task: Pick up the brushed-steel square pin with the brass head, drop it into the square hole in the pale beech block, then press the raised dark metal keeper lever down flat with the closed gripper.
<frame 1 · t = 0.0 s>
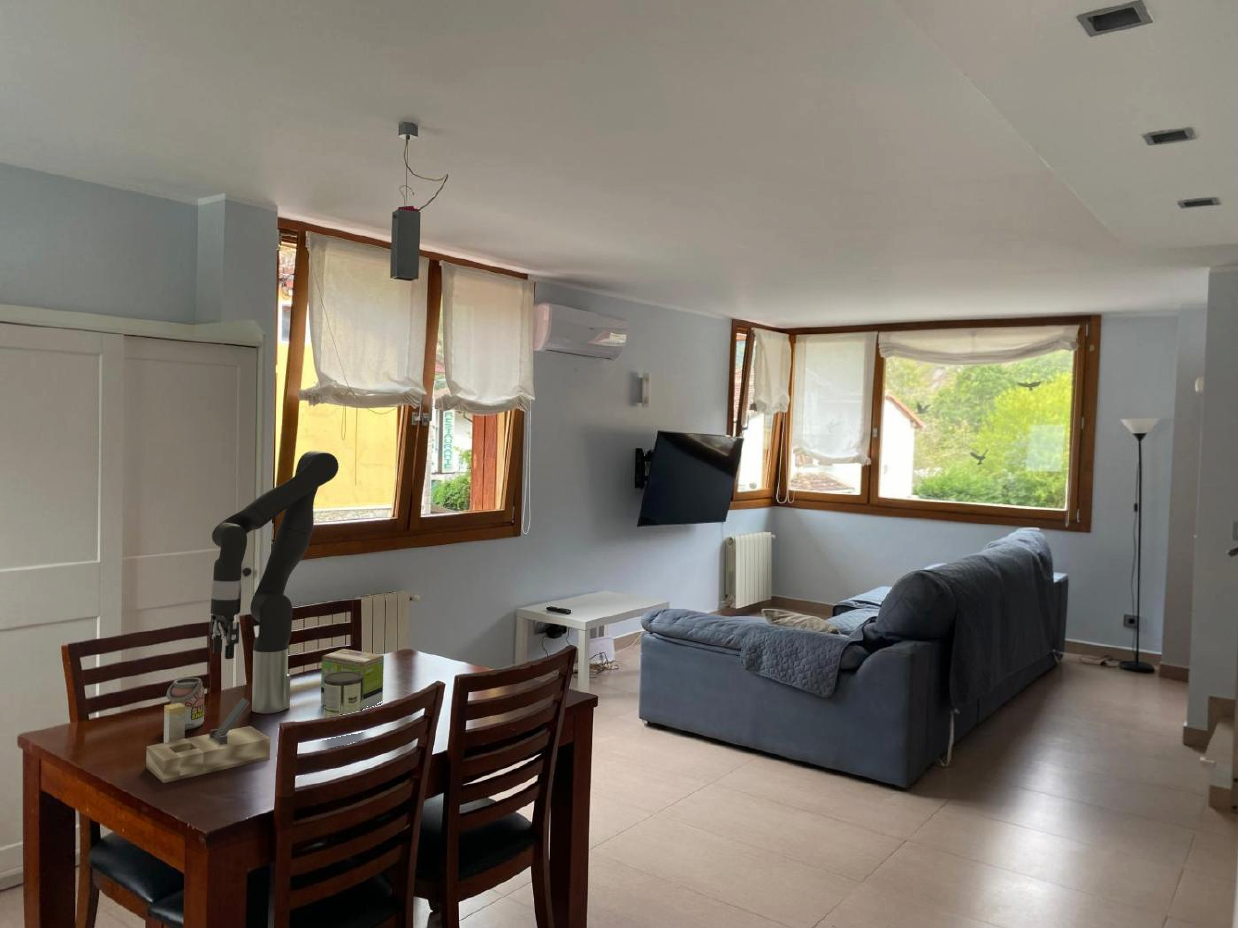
hand: (223, 655, 247), 17 cm above the table, tool pointing down, fingers open, 8 cm apart
beverage can: (185, 726, 240), on the table
block: (209, 763, 214), on the table
pin: (174, 753, 220), on the table
lever: (231, 719, 217), point 9 cm above the table, hinge at 50.0°
tea box: (351, 705, 263), on the table
coffee can: (342, 729, 242), on the table
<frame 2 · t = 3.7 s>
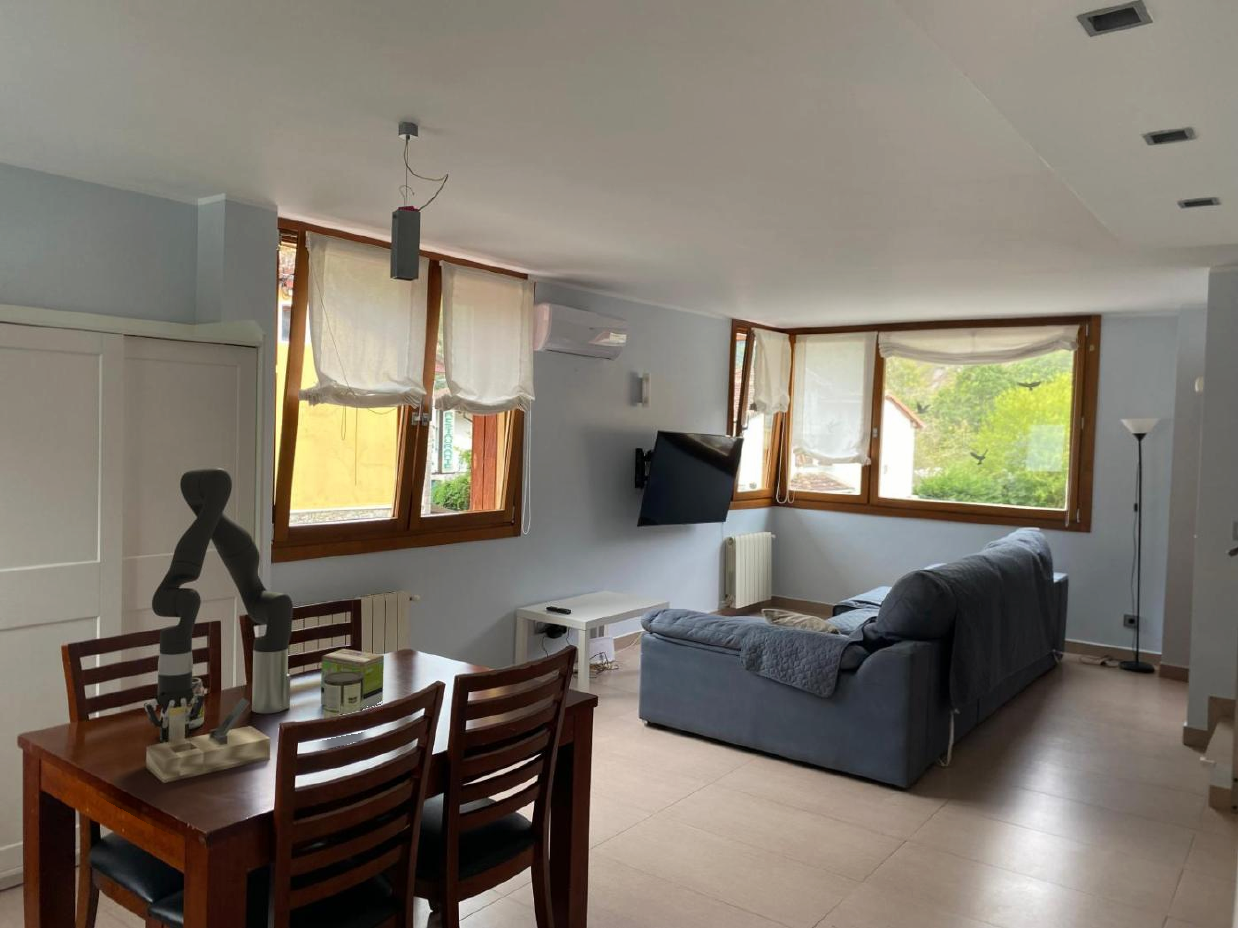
hand: (174, 739, 220), 3 cm above the table, tool pointing down, fingers closed on pin, 3 cm apart
pin: (174, 752, 220), on the table, touching gripper
everything else where it was.
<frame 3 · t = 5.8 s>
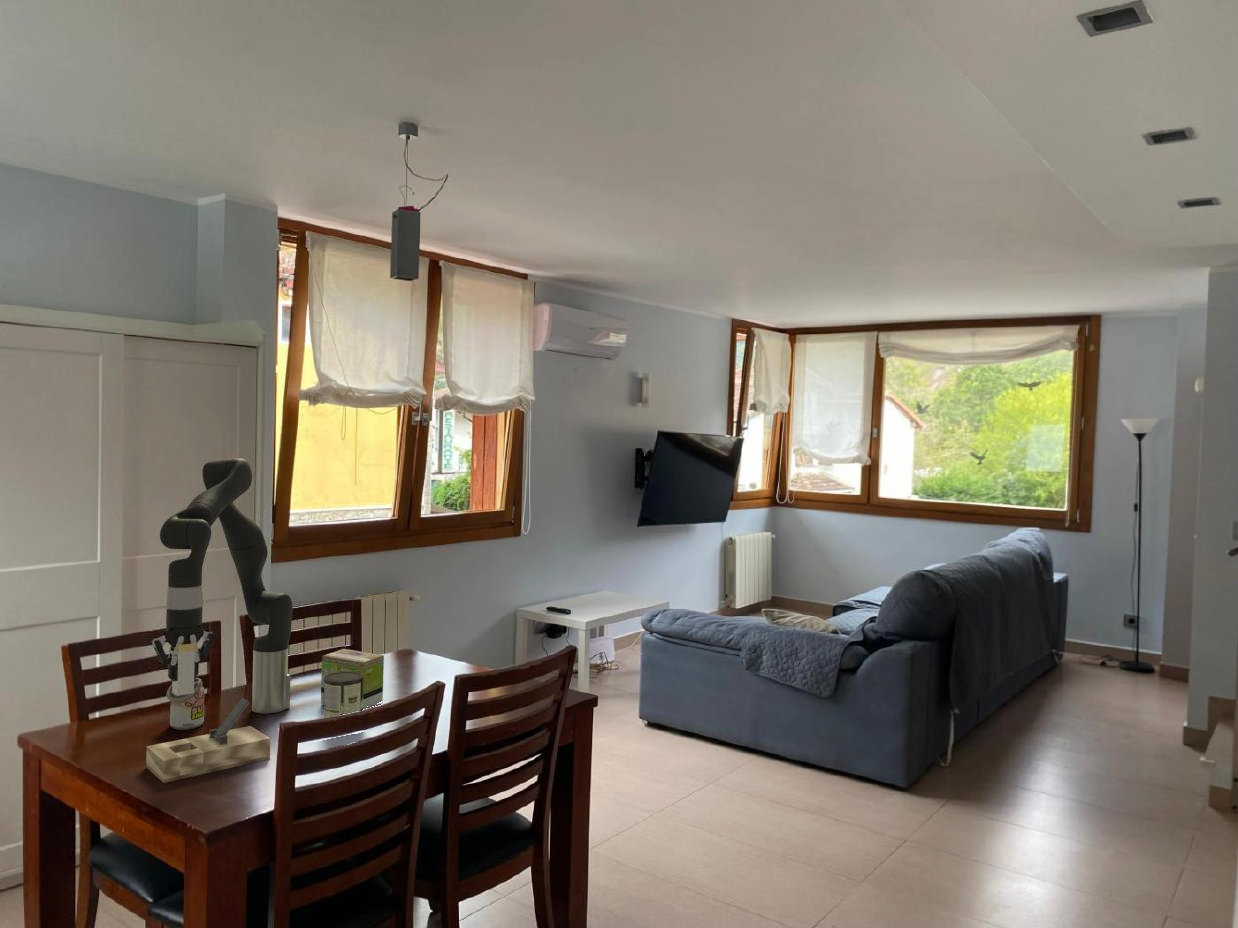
hand: (183, 678, 209), 21 cm above the table, tool pointing down, fingers closed on pin, 3 cm apart
pin: (183, 692, 209), point 18 cm above the table, touching gripper
everything else where it was.
when the fingers open (5 cm above the table, at t = 8.1 s): pin drops 1 cm, resting on block.
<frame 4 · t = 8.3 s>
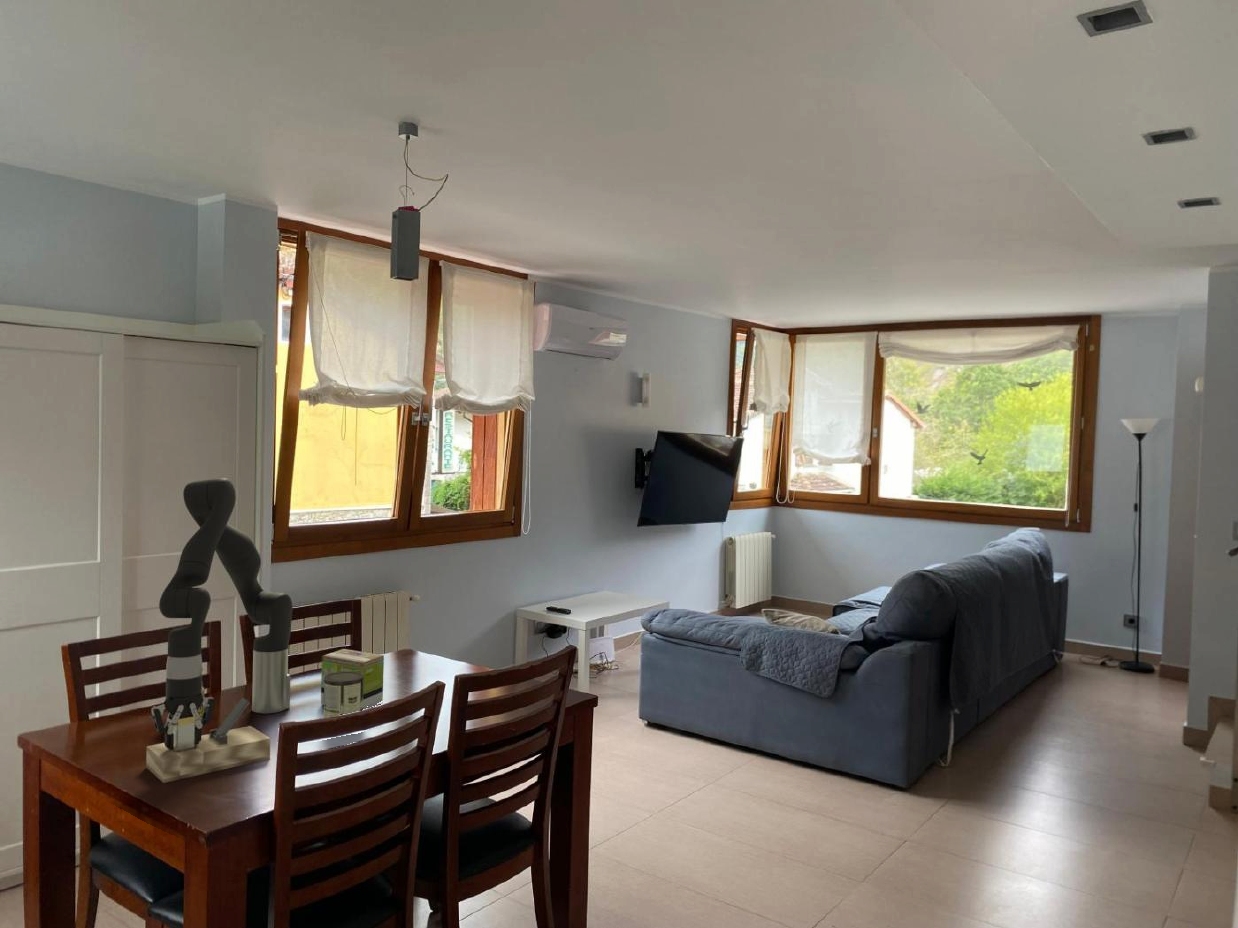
hand: (182, 745, 210), 5 cm above the table, tool pointing down, fingers open, 5 cm apart
pin: (182, 765, 210), point 1 cm above the table, touching block
everything else where it was.
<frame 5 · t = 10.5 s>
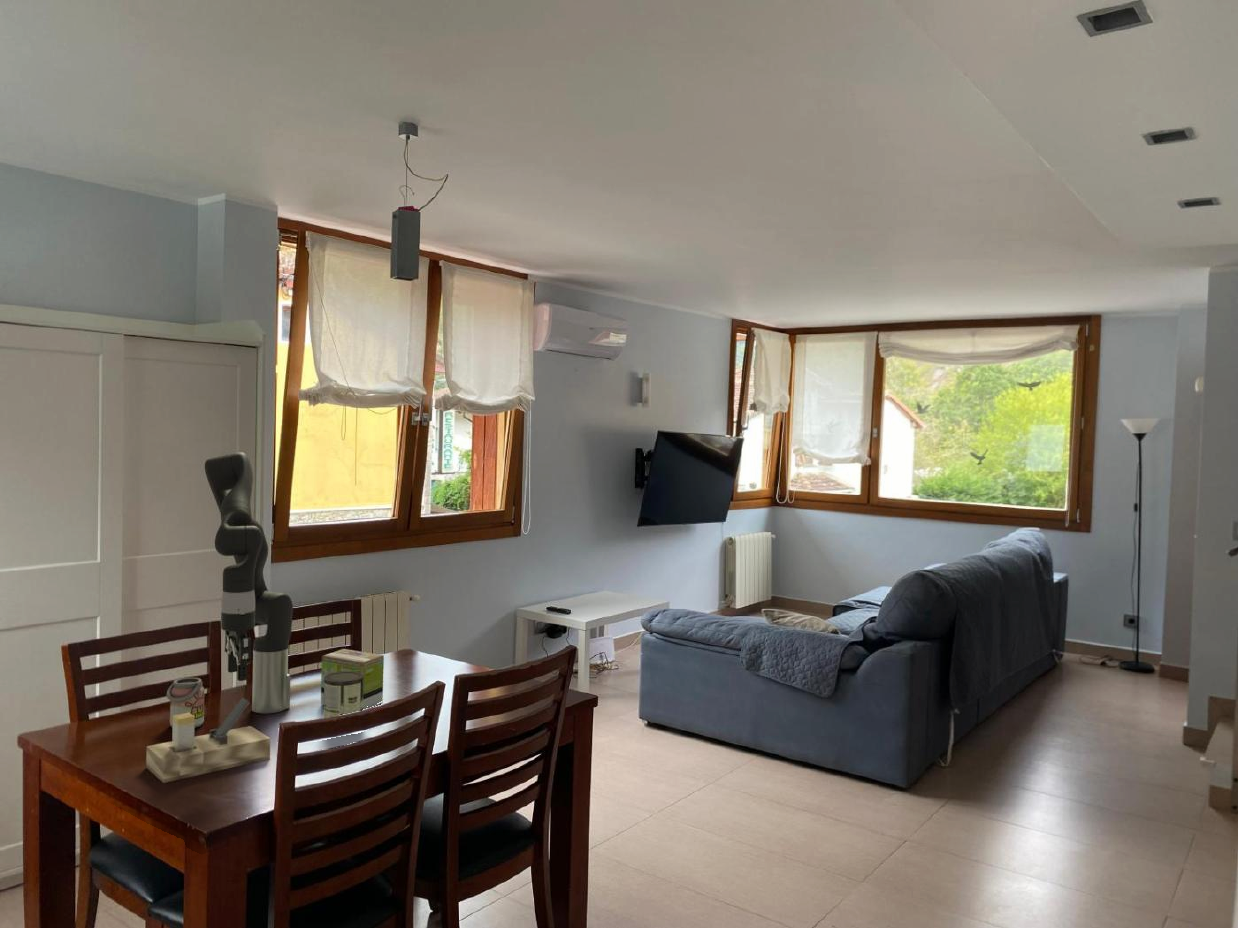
hand: (237, 675, 218), 20 cm above the table, tool pointing down, fingers open, 8 cm apart
nothing on the table moved.
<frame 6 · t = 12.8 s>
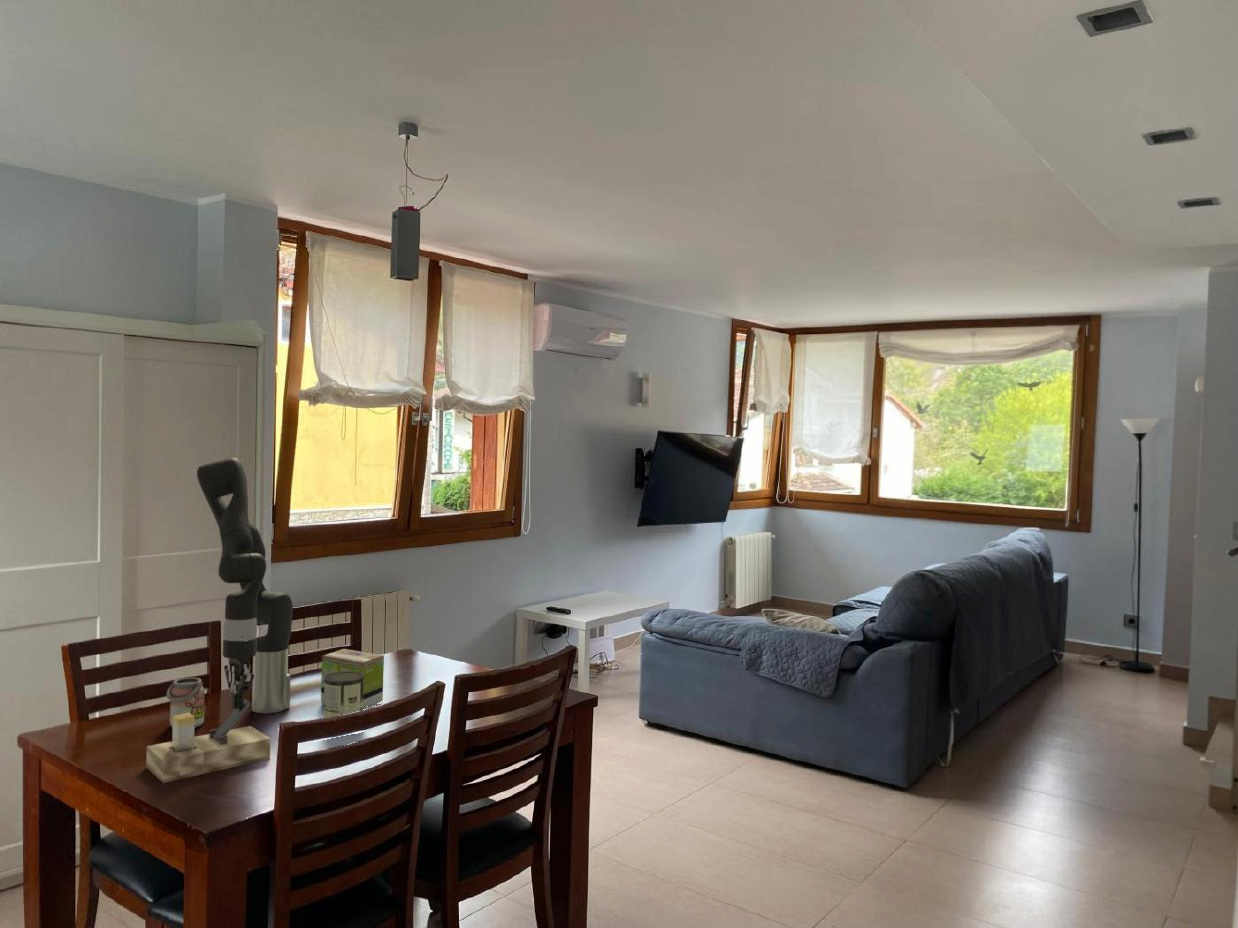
hand: (237, 707, 218), 12 cm above the table, tool pointing down, fingers closed
lever: (232, 719, 217), point 9 cm above the table, hinge at 47.0°, touching gripper
everything else where it was.
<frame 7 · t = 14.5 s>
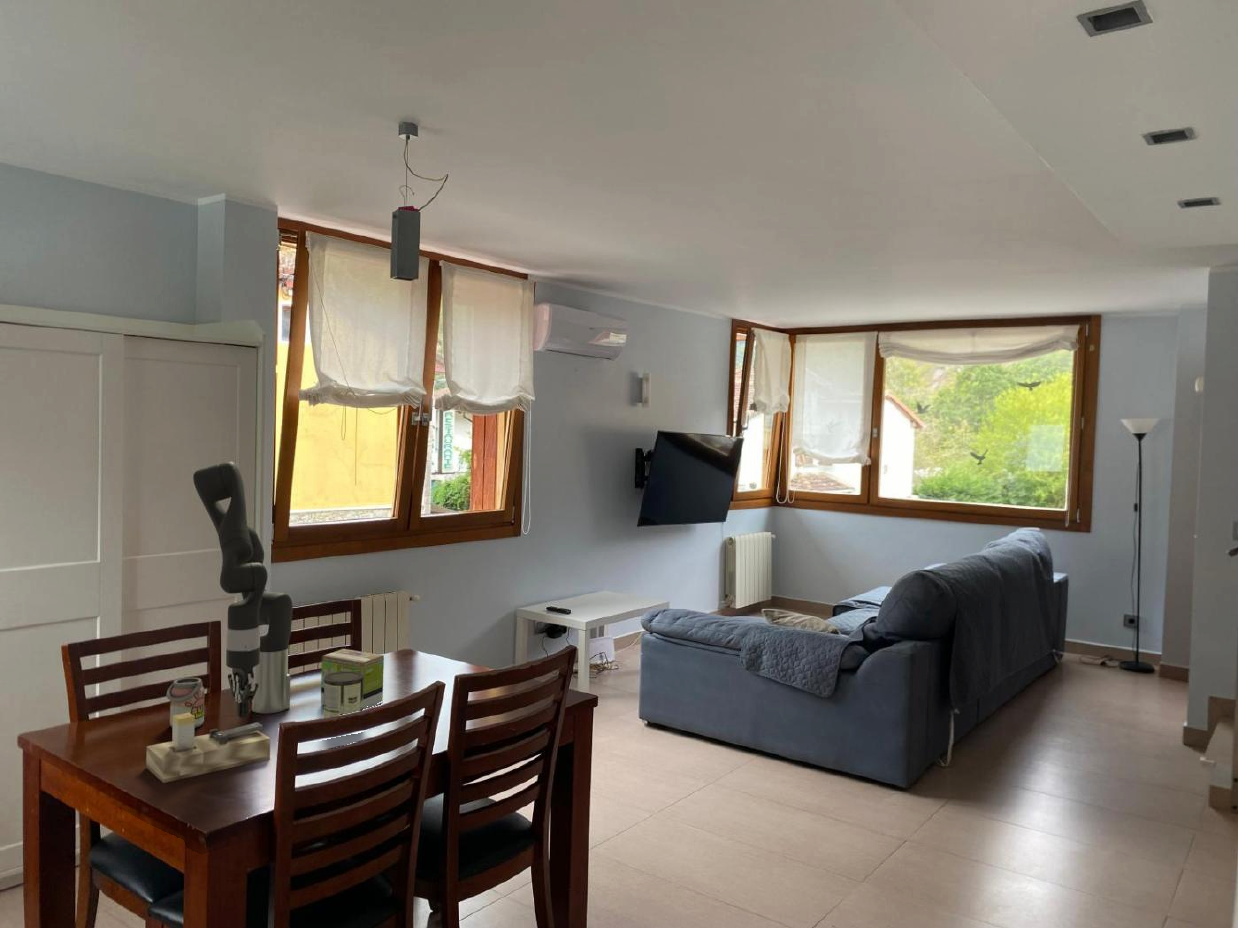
hand: (242, 716, 219), 10 cm above the table, tool pointing down, fingers closed
lever: (238, 731, 219), point 6 cm above the table, hinge at 3.7°
everything else where it was.
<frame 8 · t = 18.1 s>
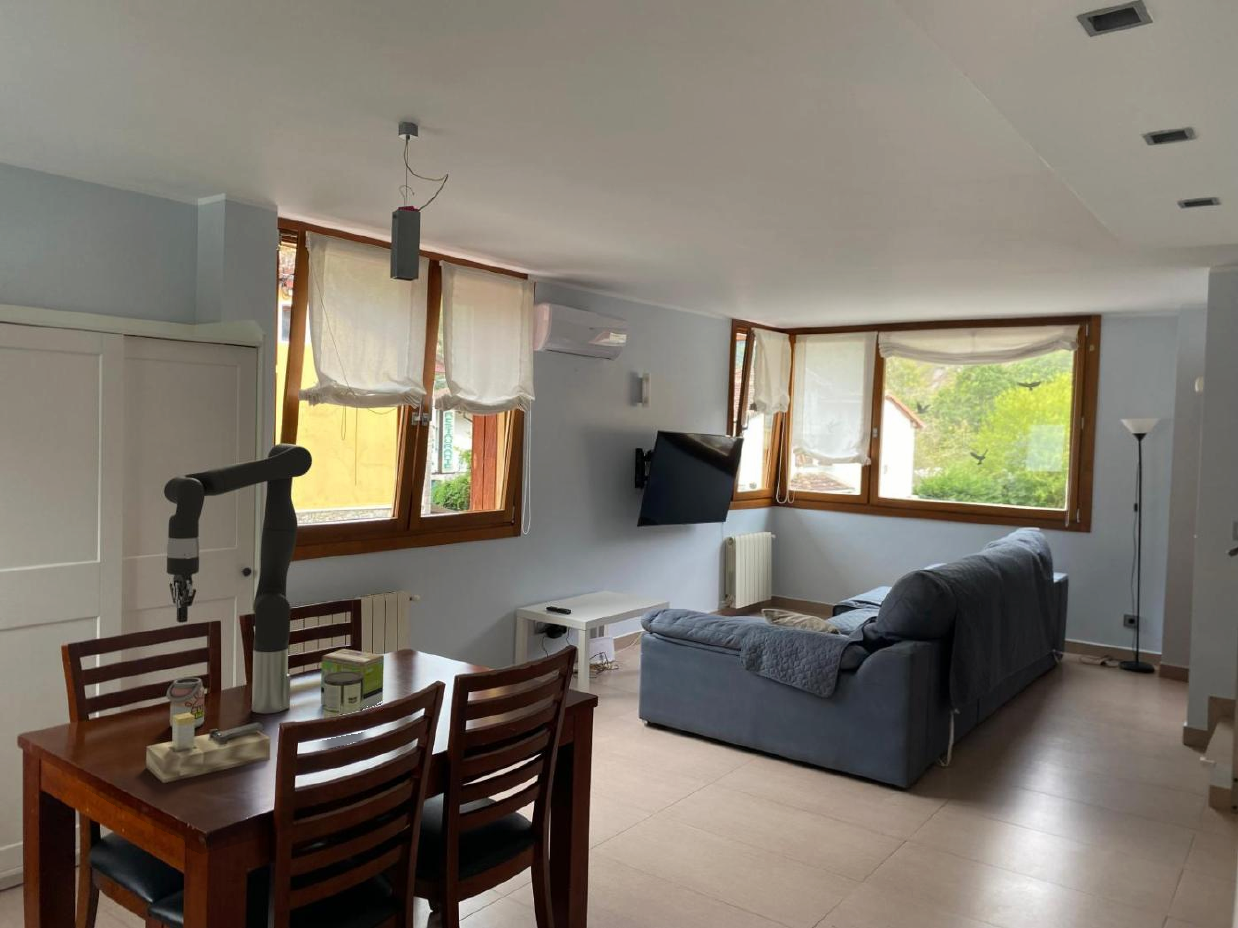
hand: (182, 621, 233), 29 cm above the table, tool pointing down, fingers closed
nothing on the table moved.
at the end: pin 0.1 cm from the target spot on the block, point 0.8 cm above the block's base; pin tilted 0°; lever at +4° (first picture: +50°) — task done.
